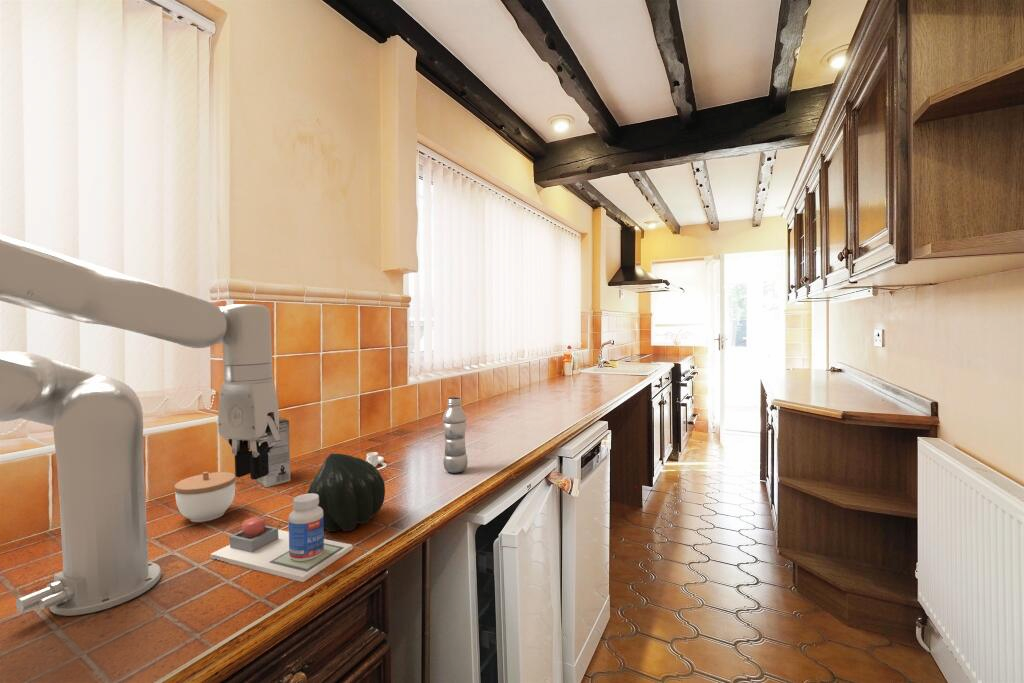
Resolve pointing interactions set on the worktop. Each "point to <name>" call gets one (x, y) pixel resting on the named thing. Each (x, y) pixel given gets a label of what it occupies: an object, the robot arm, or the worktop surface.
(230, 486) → the lidded jar
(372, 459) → the teacup and saucer
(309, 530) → the pill bottle
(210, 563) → the worktop surface
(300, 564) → the white flat board
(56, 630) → the worktop surface
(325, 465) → the squash
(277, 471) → the coffee box
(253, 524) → the button
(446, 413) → the plastic bottle
